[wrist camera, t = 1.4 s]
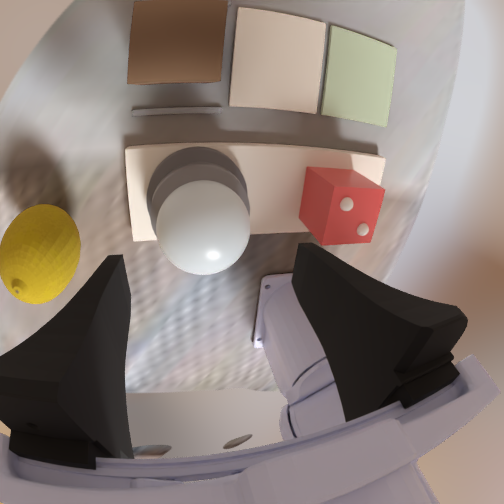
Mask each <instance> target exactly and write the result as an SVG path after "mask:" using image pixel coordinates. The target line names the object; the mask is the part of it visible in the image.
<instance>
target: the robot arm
mask: <svg viewBox="0 0 504 504" xmlns="http://www.w3.org/2000/svg"><path fill="white" fill-rule="evenodd" d="M266 285H268V286H266ZM130 317H131V293H130V288H129V284H128V279H127V274H126V269H125V264H124V259H123V254H122V255H108V256H107V257H106V259H105V260H104V261H103V262H102V263H101V265H100V266H99V267H98V268H97V270H96V271H95V272H94V273H93V275H92V276H91V277H90V278H89V279H88V281H87V282H86V283H85V284H84V286H83V287H82V288H81V289H80V290H79V291H78V292H77V293H76V295H75V296H74V297H73V298H72V299H71V300H70V301H69V302H68V303H67V305H66V306H65V307H64V308H63V309H62V310H61V311H59V312H58V313H57V314H56V315H55V316H54V317H53V318H52V319H51V320H50V321H49V322H47V323H46V324H45V325H44V326H43V327H41V328H40V329H39V330H38V331H37V332H36V333H34V334H33V335H32V336H30V337H29V338H28V339H26V340H25V341H23V342H22V343H21V344H19V345H18V346H16V347H15V348H13V349H12V350H10V351H8V352H7V353H5V354H3V355H2V356H0V420H1V421H2V422H3V423H4V424H5V425H6V426H7V427H9V428H10V429H11V434H10V437H8V436H7V435H4V434H2V433H0V502H1V503H4V504H439V502H438V500H437V498H436V496H435V495H434V493H433V491H432V489H431V488H430V486H429V484H428V482H427V480H426V478H425V477H424V475H423V473H422V471H421V470H420V468H419V466H418V465H417V461H418V458H420V457H421V456H423V455H424V454H426V453H427V452H429V451H430V450H432V449H433V448H435V447H436V446H438V445H439V444H440V443H442V442H443V441H445V440H446V439H447V438H449V437H450V436H451V435H453V434H454V433H455V432H457V431H458V430H459V429H461V428H462V427H463V426H464V425H466V424H467V423H468V422H469V421H470V420H471V419H473V418H474V417H475V416H476V415H477V414H479V413H480V412H481V411H482V410H483V409H484V408H485V407H486V406H487V405H489V404H490V403H491V402H492V401H493V400H494V399H495V398H496V397H497V396H498V395H499V394H500V389H499V388H498V387H497V385H496V384H495V382H494V381H493V380H492V378H491V377H490V376H489V374H488V373H487V371H486V370H485V369H484V367H483V366H482V365H481V363H480V362H479V361H478V359H477V358H476V357H475V356H474V354H471V355H469V356H468V357H466V358H464V359H463V360H461V361H460V362H458V363H457V364H456V365H455V366H454V365H453V363H452V362H451V361H452V360H453V359H454V356H453V355H452V353H451V352H450V351H451V350H452V348H453V347H454V345H455V344H456V343H457V341H458V340H459V339H460V337H461V336H462V334H463V332H464V331H465V328H466V327H467V322H468V319H467V317H466V316H465V314H464V313H463V312H462V311H461V310H460V309H459V308H458V307H457V306H453V305H449V304H443V303H439V302H434V301H430V300H427V299H423V298H420V297H417V296H414V295H411V294H408V293H405V292H403V291H400V290H397V289H395V288H392V287H390V286H388V285H386V284H384V283H382V282H380V281H377V280H376V279H374V278H372V277H370V276H368V275H366V274H364V273H363V272H361V271H359V270H357V269H355V268H354V267H352V266H350V265H349V264H347V263H345V262H344V261H342V260H341V259H339V258H337V257H336V256H334V255H333V254H331V253H329V252H328V251H326V250H324V249H323V248H321V247H319V246H317V245H315V244H313V243H299V245H298V250H297V255H296V260H295V265H294V270H293V273H288V274H277V275H267V276H265V277H263V278H262V281H261V289H260V296H259V304H258V311H257V319H256V326H255V333H254V341H253V345H254V347H255V348H262V347H263V348H264V350H265V353H266V356H267V359H268V361H269V364H270V367H271V369H272V372H273V375H274V378H275V380H276V383H277V386H278V388H279V390H280V392H281V393H282V394H283V396H284V397H285V398H286V399H287V401H288V404H287V405H285V406H284V407H283V408H282V410H281V415H280V420H279V425H280V431H281V435H282V437H283V440H284V441H282V442H278V443H274V444H269V445H265V446H260V447H255V448H250V449H244V450H239V451H232V452H226V453H219V454H211V455H202V456H193V457H180V458H162V459H134V455H133V450H132V444H131V438H130V432H129V425H128V416H127V406H126V392H125V359H126V349H127V341H128V332H129V324H130ZM214 478H216V479H214ZM205 479H210V480H205ZM196 480H205V481H199V482H192V483H185V484H184V483H183V481H196Z"/></svg>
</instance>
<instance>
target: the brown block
mask: <svg viewBox="0 0 504 504" xmlns="http://www.w3.org/2000/svg"><path fill="white" fill-rule="evenodd" d="M227 7H228V1H227V0H147V1H136V2H134V8H133V16H132V24H131V34H130V45H129V58H128V77H127V84H135V85H151V84H170V83H211V82H217V81H221V69H222V57H223V46H224V36H225V26H226V16H227Z"/></svg>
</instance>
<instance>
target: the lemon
mask: <svg viewBox="0 0 504 504" xmlns="http://www.w3.org/2000/svg"><path fill="white" fill-rule="evenodd" d="M80 247H81V243H80V237H79V232H78V229H77V227H76V224H75V222H74V221H73V220H72V218H71V217H70V216H69V215H68V214H67V213H66V212H65V211H64V210H62V209H61V208H59V207H57V206H53V205H50V204H39V205H35V206H32V207H29V208H27V209H26V210H24V211H23V212H22V213H20V214H19V215H18V216H17V217H16V218H15V219H14V220H13V221H12V223H11V224H10V225H9V227H8V228H7V230H6V232H5V234H4V236H3V238H2V241H1V245H0V276H1V279H2V281H3V283H4V285H5V286H6V288H7V289H8V290H9V292H10V293H11V294H12V295H13V296H15V297H16V298H17V299H19V300H21V301H23V302H26V303H31V304H42V303H45V302H48V301H50V300H52V299H53V298H55V297H56V296H58V295H59V294H60V293H61V292H62V291H63V290H64V288H65V287H66V286H67V284H68V283H69V282H70V280H71V279H72V277H73V275H74V273H75V270H76V268H77V265H78V262H79V258H80Z"/></svg>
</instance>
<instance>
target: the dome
mask: <svg viewBox="0 0 504 504" xmlns="http://www.w3.org/2000/svg"><path fill="white" fill-rule="evenodd" d="M249 217H250V203H249V199H248V196H247V193H246V191H245V189H244V188H243V186H242V185H241V183H240V182H239V180H238V179H237V178H236V176H235V175H234V174H232V173H231V172H230V171H229V170H227V169H226V168H224V167H222V166H220V165H217V164H214V163H209V162H193V163H188V164H185V165H182V166H180V167H178V168H176V169H174V170H172V171H171V172H170V173H168V174H167V175H166V176H165V177H164V178H163V179H162V180H161V182H160V183H159V184H158V186H157V188H156V190H155V192H154V195H153V198H152V203H151V210H150V220H151V225H152V229H153V231H154V233H155V235H156V237H157V239H158V242H159V245H160V248H161V250H162V252H163V253H164V254H165V256H166V257H167V259H168V260H169V261H170V262H171V263H173V264H174V265H175V266H176V267H178V268H179V269H181V270H183V271H185V272H189V273H192V274H197V275H209V274H214V273H218V272H221V271H223V270H225V269H227V268H228V267H230V266H231V265H232V264H234V263H235V262H236V261H237V260H238V259H239V257H240V256H241V255H242V253H243V252H244V250H245V248H246V246H247V244H248V240H249V236H250V218H249Z"/></svg>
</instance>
